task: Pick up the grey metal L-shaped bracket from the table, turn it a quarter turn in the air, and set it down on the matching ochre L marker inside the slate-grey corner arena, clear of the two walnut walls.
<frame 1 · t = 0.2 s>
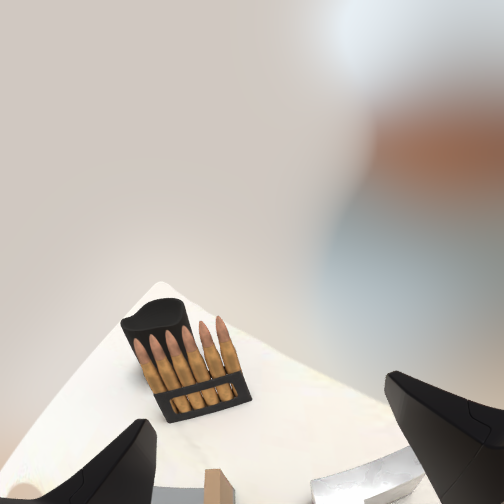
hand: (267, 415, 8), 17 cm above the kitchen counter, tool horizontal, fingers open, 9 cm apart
pen holder: (174, 370, 37), on the kitchen counter
ammunition clip: (209, 409, 29), on the kitchen counter
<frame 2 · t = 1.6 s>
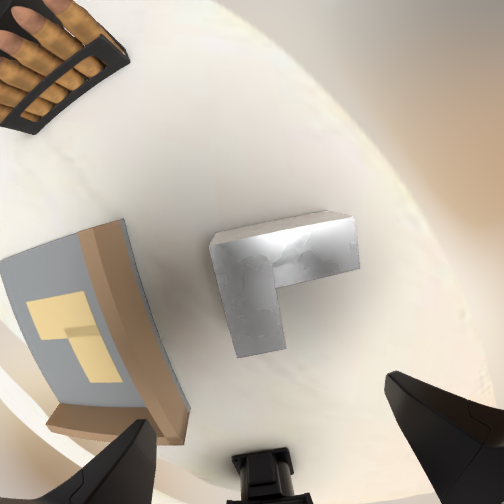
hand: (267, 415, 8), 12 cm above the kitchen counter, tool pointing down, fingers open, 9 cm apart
pen holder: (33, 49, 14), on the kitchen counter
arena: (81, 338, 20), on the kitchen counter
angle bracket: (247, 275, 20), on the kitchen counter
ammunition clip: (75, 91, 16), on the kitchen counter
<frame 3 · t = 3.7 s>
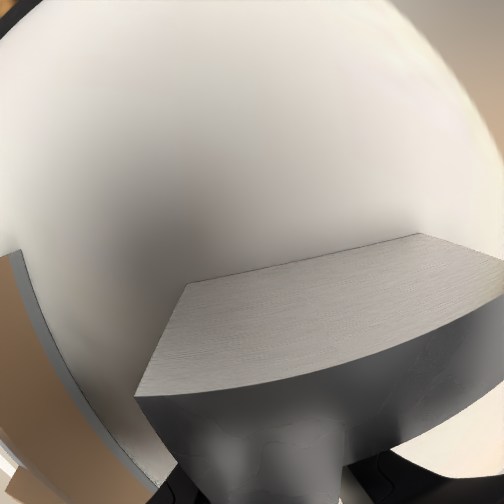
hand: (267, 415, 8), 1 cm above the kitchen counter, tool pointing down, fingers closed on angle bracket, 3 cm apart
arena: (16, 412, 9), on the kitchen counter
angle bracket: (257, 367, 9), on the kitchen counter, touching gripper
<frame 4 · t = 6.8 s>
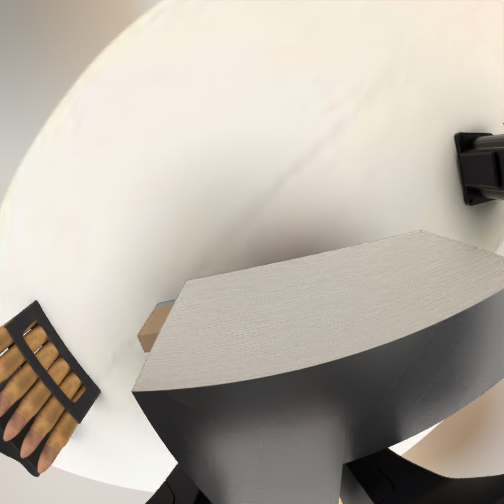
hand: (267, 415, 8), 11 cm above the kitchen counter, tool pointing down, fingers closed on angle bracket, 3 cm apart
pen holder: (41, 394, 21), on the kitchen counter
arena: (297, 365, 21), on the kitchen counter
angle bracket: (256, 364, 9), point 10 cm above the kitchen counter, touching gripper
ammunition clip: (63, 350, 20), on the kitchen counter
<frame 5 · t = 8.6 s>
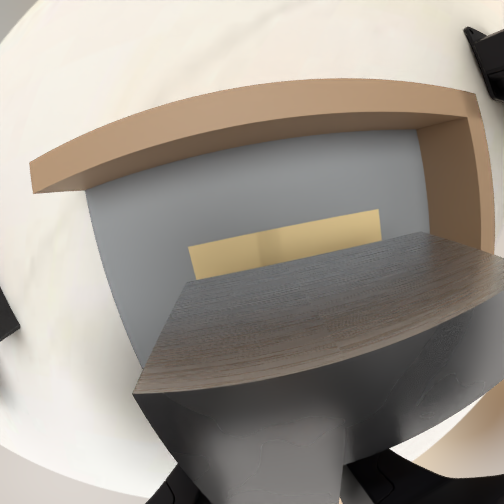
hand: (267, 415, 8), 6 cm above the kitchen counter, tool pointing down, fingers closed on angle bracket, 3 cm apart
arena: (295, 283, 13), on the kitchen counter
angle bracket: (257, 365, 9), point 5 cm above the kitchen counter, touching gripper
when the fingers open (3 cm above the kitchen counter, at t = 9.9 s): angle bracket drops 1 cm, resting on arena.
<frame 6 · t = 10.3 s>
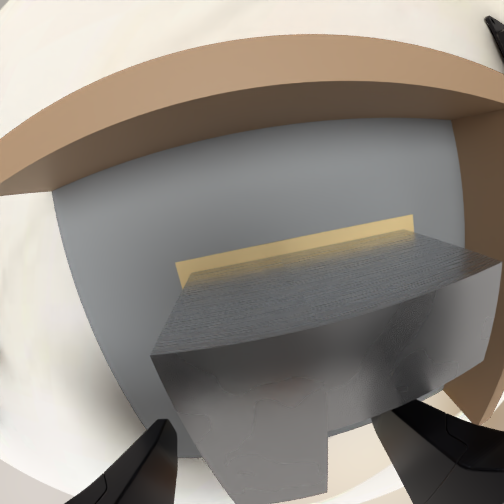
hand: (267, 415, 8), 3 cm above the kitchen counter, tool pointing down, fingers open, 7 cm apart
arena: (310, 305, 11), on the kitchen counter
angle bracket: (253, 350, 10), point 1 cm above the kitchen counter, touching arena
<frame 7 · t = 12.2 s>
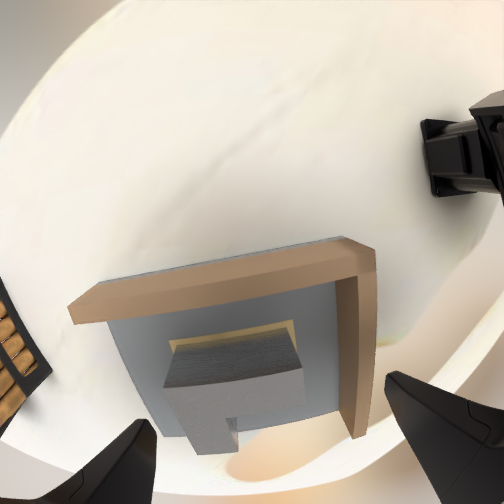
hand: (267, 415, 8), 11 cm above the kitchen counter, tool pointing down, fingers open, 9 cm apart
pen holder: (3, 372, 19), on the kitchen counter
arena: (237, 359, 20), on the kitchen counter
angle bracket: (208, 379, 19), point 1 cm above the kitchen counter, touching arena
ammunition clip: (21, 326, 18), on the kitchen counter
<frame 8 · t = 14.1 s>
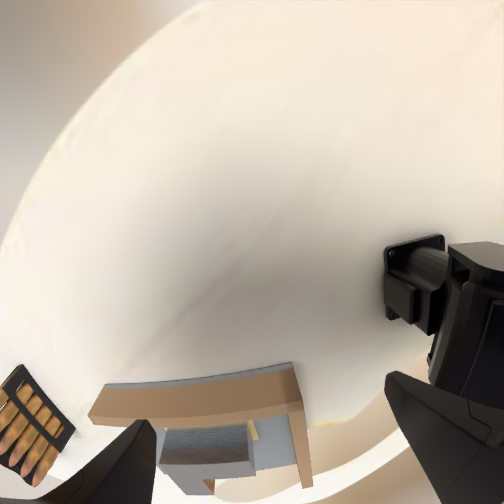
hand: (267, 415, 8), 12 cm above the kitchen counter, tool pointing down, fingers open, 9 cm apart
pen holder: (32, 422, 24), on the kitchen counter
arena: (213, 433, 23), on the kitchen counter
angle bracket: (192, 445, 23), point 1 cm above the kitchen counter, touching arena
ammunition clip: (46, 398, 22), on the kitchen counter
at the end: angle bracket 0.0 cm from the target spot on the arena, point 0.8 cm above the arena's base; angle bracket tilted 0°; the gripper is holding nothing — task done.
